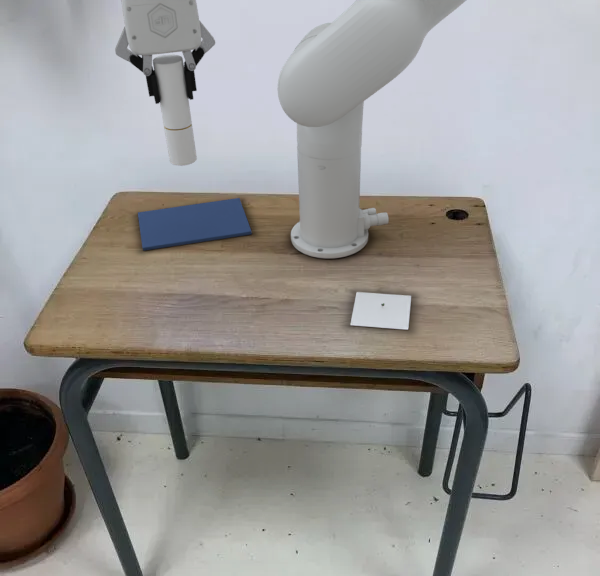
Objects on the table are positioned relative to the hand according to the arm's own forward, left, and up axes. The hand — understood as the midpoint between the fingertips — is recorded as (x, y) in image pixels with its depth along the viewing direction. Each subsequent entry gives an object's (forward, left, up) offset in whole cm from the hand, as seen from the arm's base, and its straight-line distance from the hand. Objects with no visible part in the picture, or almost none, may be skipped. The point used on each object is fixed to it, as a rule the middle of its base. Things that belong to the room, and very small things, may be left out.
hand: (173, 97), depth 103 cm
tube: (0, 0, -10) cm, 10 cm away
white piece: (-23, +32, -21) cm, 45 cm away
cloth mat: (0, 0, -21) cm, 21 cm away
